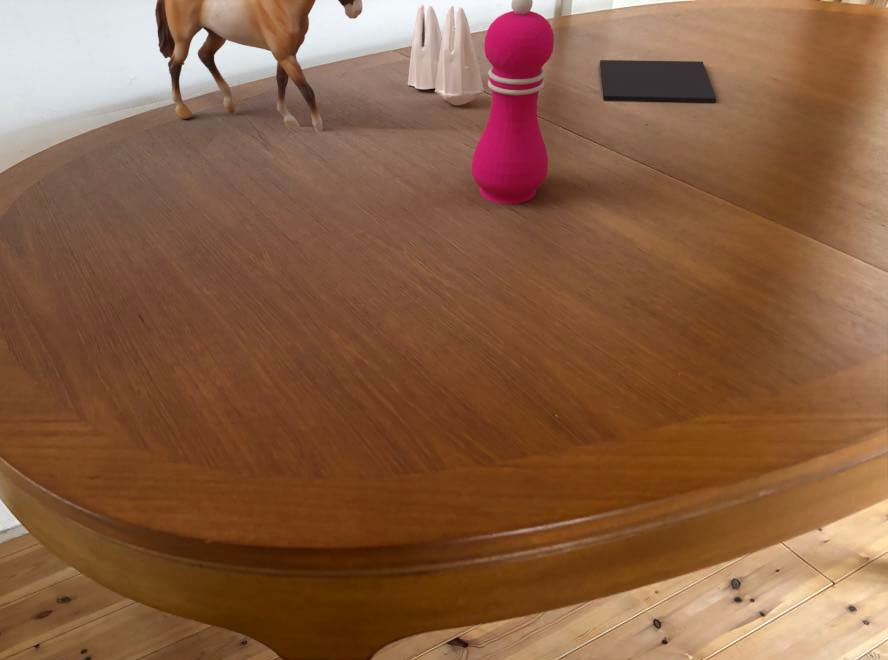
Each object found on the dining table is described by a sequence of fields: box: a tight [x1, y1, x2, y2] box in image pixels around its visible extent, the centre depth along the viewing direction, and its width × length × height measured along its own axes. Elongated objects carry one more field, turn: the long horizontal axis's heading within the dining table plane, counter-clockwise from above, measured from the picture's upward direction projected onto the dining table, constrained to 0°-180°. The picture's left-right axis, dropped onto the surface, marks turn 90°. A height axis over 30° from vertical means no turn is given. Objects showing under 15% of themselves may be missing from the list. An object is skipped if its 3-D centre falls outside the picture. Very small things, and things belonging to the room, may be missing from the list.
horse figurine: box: [154, 0, 363, 132], centre depth 101 cm, size 31×8×21 cm, turn 56°
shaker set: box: [407, 3, 485, 106], centre depth 108 cm, size 12×4×11 cm, turn 28°
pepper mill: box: [470, 0, 555, 205], centre depth 81 cm, size 7×7×20 cm
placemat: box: [599, 59, 717, 104], centre depth 112 cm, size 13×13×1 cm
